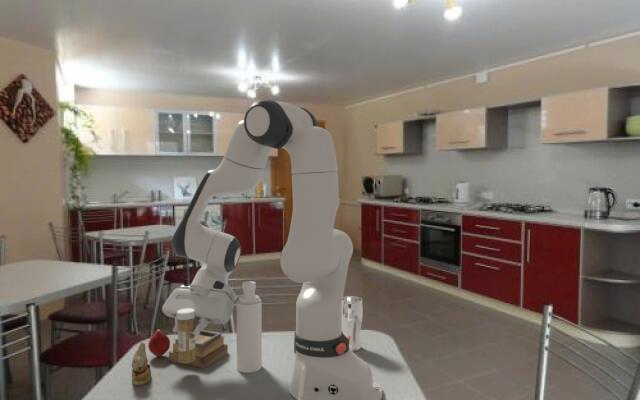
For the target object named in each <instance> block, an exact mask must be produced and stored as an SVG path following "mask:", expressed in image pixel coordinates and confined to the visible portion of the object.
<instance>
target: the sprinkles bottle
mask: <svg viewBox="0 0 640 400" xmlns="http://www.w3.org/2000/svg"><path fill="white" fill-rule="evenodd" d="M194 317H195V310H194V309H191V308H186V309H181V310H178V311H177V320H178V334H177V338H178V350H179V359H178V361H179V362H180V363H179V364H183V363H191V362H193V361H195V359H196V356H195V336H192V335H191V334H190V332H191V331H192V328H193V327H194V328H195V327H196V326H195V325H196V324H195V320H194Z"/></svg>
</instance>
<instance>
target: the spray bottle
mask: <svg viewBox="0 0 640 400" xmlns="http://www.w3.org/2000/svg"><path fill="white" fill-rule="evenodd" d="M241 286H242V289H241V290H242V291H243V294H242V295H240V296H239V297H238V298H236V369H237V371H238V372H239V373H245V374H250V373H256V372H258V371H260V370H261V369H262V365H263V359H262V358H263V356H262V355H263V352H262V351H263V350H262V349H263V347H262V346H263V344H262V343H263V342H262V340H263V339H262V338H263V335H262V333H263V328H262V324H263V323H262V322H263V321H262V319H263V318H262V317H263V316H262V313H263V312H262V308H263V307H262V304H263V303H262V298H261V297H260V296H259V295H257V294H255V293H256V292H255V291H256V290H257V285H256V281H252V280H249V281H248V280H247V281H246V280H245V281H243V282H242V285H241Z"/></svg>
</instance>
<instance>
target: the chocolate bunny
mask: <svg viewBox="0 0 640 400" xmlns="http://www.w3.org/2000/svg"><path fill="white" fill-rule="evenodd" d="M148 362H149V361H148V356H147V353H146V343H145V342H144V341H141V342H140V343H139V345H138V348H137V349H136V350H135V353H134V355H133V357H132V361H131V368H132V369H131V383H132V384H133V385H134V386H135V387H136V386H137V387H141V386H144V385H146V384H148V383H149V382H150V381H151V377H152V371H151V365H150V364H148Z"/></svg>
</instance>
